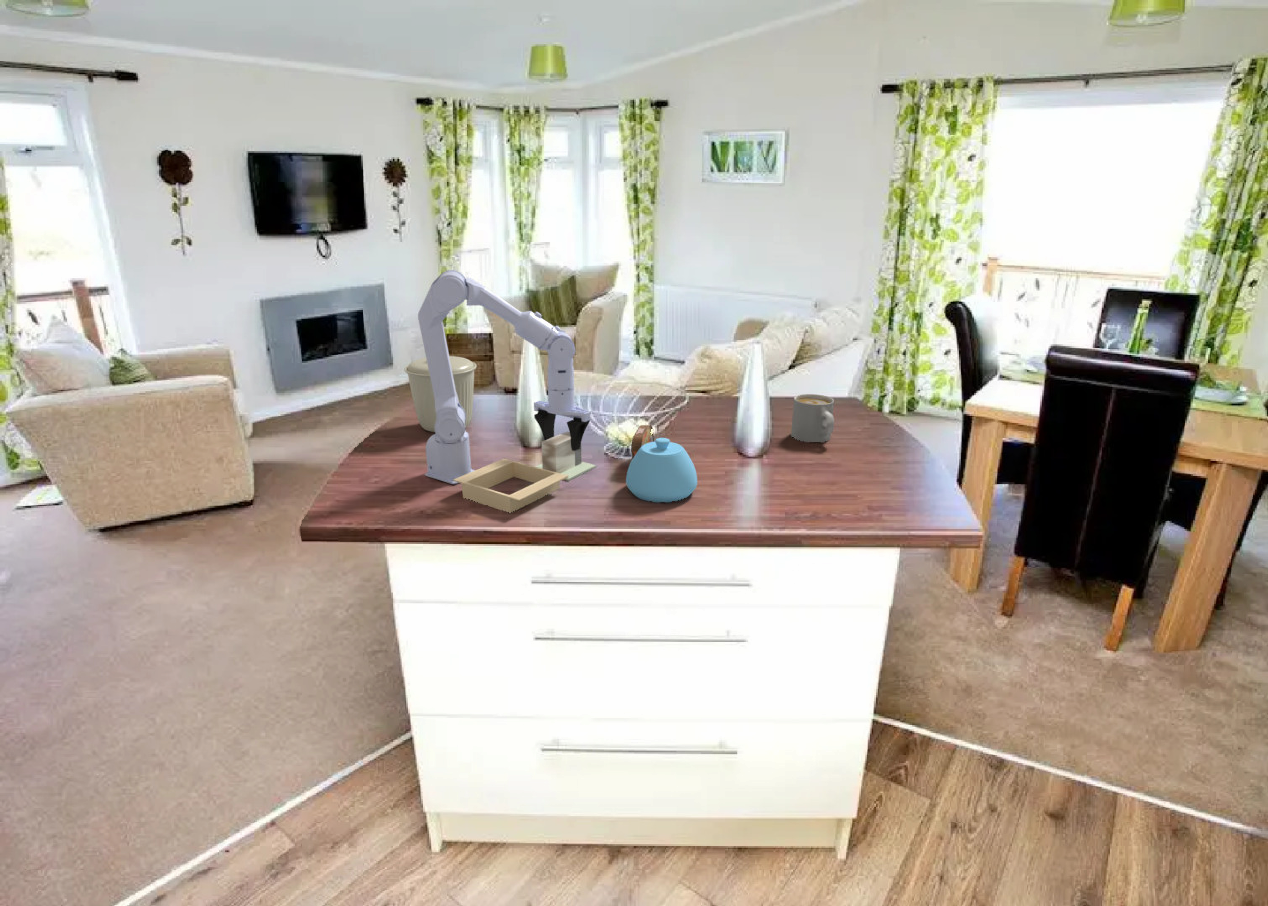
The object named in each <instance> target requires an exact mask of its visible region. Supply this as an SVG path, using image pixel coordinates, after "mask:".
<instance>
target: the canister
mask: <svg viewBox="0 0 1268 906" xmlns="http://www.w3.org/2000/svg"><path fill="white" fill-rule="evenodd" d="M449 358H450V363H451V368H452V373H453V378H454V384H455V389H456V393H457V396H458V400H459V403H460V405H461V407H462V408H463V409H464V411H465V413H466V421H465V429H466V428H467V427H468V426H469V425H470V423H471V421H472V417H473V406H474V385H475V370H476V369H477V363H475V362H473V361H471V360H470V359H467V358H466V357H461V356H454V355H449ZM404 372H405V373H406V374H407V377H408V378H407V379H408V382H409V387H410V392H411V397H412V401H413V404H414V409H415V414H416V416H417V417H416V418H417V420H418V423H419V425H420V427H421V428H422V429H424V430H426V431H427V432H431V433H435V428H434V427H435V423H436V419H437V416H436V410H435V398H434V393H433V388H432V383H431V378H430V374H429V369H428V364H427V359H426V357H423V358H419V359H416V360H414V361H411V362H410V364H408V365H406V366H405V367H404Z"/></svg>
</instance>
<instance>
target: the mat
mask: <svg viewBox="0 0 1268 906" xmlns="http://www.w3.org/2000/svg"><path fill="white" fill-rule="evenodd" d="M534 467H538V468H542V469H543V467H542V462H541V463H539V464H537V465H535V466H534ZM592 468H594V469H596V468H597V465H596V464H592V463H588V462H584V461H582V463H581V464H579V465H577V466H575V467H573V468H571V469H569V470H567V471H564V472H562V473H560V474H564V475H568V476H569V477H568V478H566V479H564V480H563V481H567V482H570V481H572V480H574V479H576V478H578V477H580V476H581V475H583V473H584V474H586V473H588V472H590V471H591V469H592ZM589 470H590V471H589ZM592 470H593V469H592Z"/></svg>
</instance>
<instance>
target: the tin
mask: <svg viewBox="0 0 1268 906" xmlns="http://www.w3.org/2000/svg"><path fill="white" fill-rule="evenodd" d="M651 429H653V430H654V428H653V425H652V424H645V425H644V424H641V425H639V426H638V428H637V429H636V432H635V433H634V435H633V436H632V440H631V444H630V445H631V447H630V448H631V449H630V452H631V460H632V459H633V458H634V456H635V455H636V453H637V452H638V450H639V449H640V448H641V447H642V446H643V445H644V444H646V443H650V442H655V440H654V439H655V437H654V433H653V434H652V435H651V433H650V432H651Z"/></svg>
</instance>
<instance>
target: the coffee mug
mask: <svg viewBox="0 0 1268 906" xmlns="http://www.w3.org/2000/svg"><path fill="white" fill-rule="evenodd" d="M834 405H835V400H834V398H832V397H830V396H827V395H823V394H817V393H804V394H799V395H796V396H794V397H793V406H792V418H791V420H792V421H791V433H790V437H791V438H792V437H794V438H795V439H794V438H793V439H794V440H796V439H797V440H796V441H799V440H800V442H803V441H804V442H803V443H809V442H821V443H826V442H828V440H829V441H830V440H831V437H832V436H831V435H832V434H833V431H834V428H835V418H834V408H835V406H834ZM825 441H826V442H825Z"/></svg>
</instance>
